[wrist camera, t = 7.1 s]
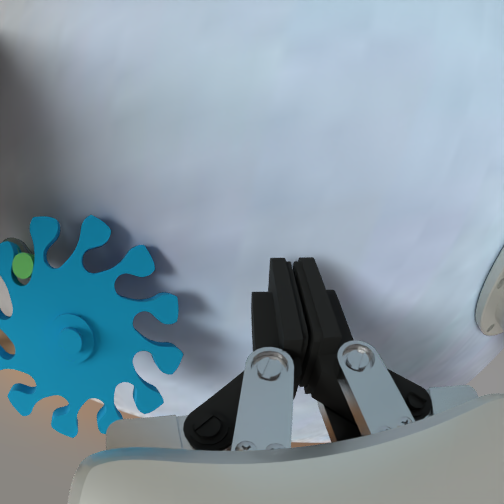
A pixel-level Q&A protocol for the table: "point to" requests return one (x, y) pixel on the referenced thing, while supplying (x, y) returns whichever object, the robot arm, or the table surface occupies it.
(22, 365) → the gear
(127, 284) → the table surface
